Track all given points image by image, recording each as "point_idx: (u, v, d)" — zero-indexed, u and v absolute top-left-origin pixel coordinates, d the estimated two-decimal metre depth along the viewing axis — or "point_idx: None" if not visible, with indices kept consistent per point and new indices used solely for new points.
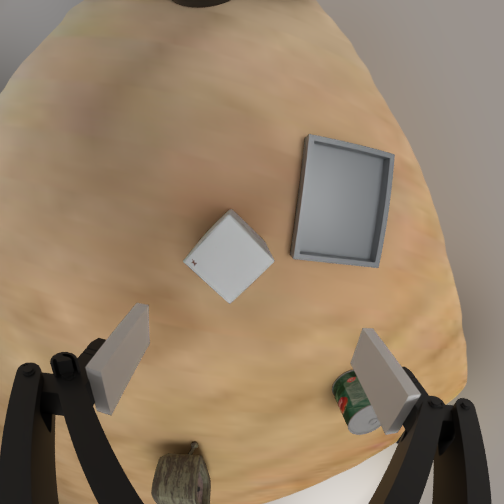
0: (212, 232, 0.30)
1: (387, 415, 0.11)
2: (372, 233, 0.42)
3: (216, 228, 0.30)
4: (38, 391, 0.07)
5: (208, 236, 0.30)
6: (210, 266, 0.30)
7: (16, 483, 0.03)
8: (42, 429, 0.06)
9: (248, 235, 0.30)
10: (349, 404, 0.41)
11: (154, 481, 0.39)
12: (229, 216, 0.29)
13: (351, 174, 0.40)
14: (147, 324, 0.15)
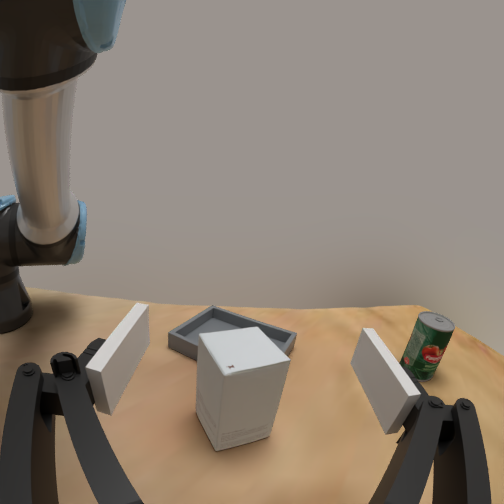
0: (208, 346, 0.27)
1: (387, 415, 0.11)
2: None
3: (206, 343, 0.27)
4: (38, 391, 0.07)
5: (210, 350, 0.26)
6: (241, 357, 0.25)
7: (16, 483, 0.03)
8: (42, 429, 0.06)
9: None
10: (426, 342, 0.40)
11: None
12: (201, 333, 0.29)
13: None
14: (147, 324, 0.15)
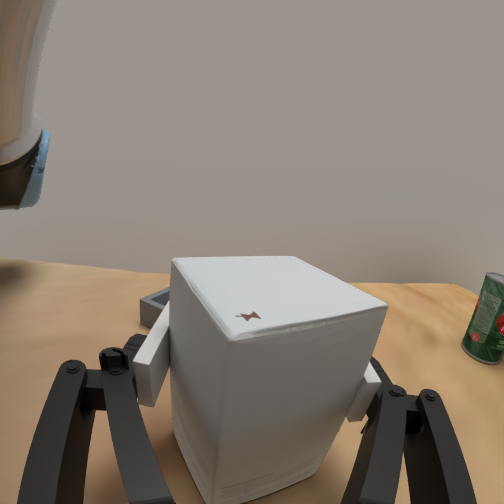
0: (188, 276, 0.11)
1: None
2: None
3: (184, 270, 0.12)
4: (80, 389, 0.08)
5: (192, 282, 0.10)
6: (275, 297, 0.10)
7: (42, 477, 0.04)
8: (79, 426, 0.07)
9: None
10: (502, 308, 0.24)
11: None
12: None
13: None
14: None
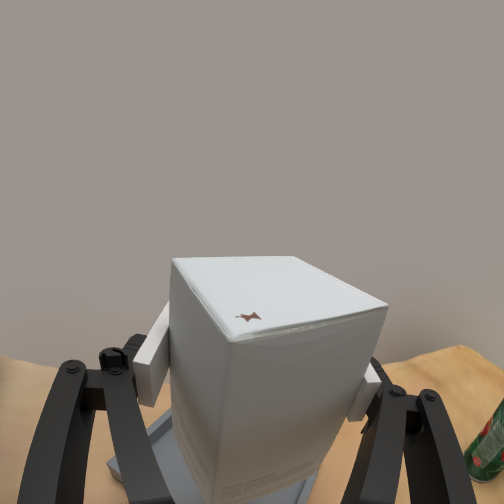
0: (188, 277, 0.11)
1: None
2: None
3: (184, 271, 0.11)
4: (80, 389, 0.08)
5: (192, 282, 0.10)
6: (276, 297, 0.10)
7: (42, 477, 0.04)
8: (79, 426, 0.07)
9: (231, 257, 0.14)
10: None
11: None
12: (176, 258, 0.13)
13: None
14: None
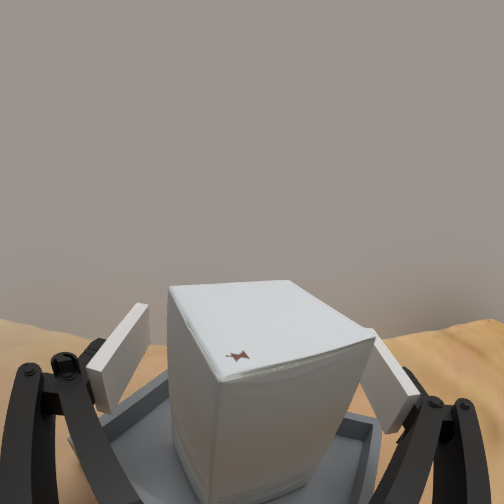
0: (183, 309, 0.11)
1: (387, 415, 0.11)
2: None
3: (180, 302, 0.12)
4: (38, 391, 0.07)
5: (186, 315, 0.11)
6: (265, 333, 0.10)
7: (16, 483, 0.03)
8: (42, 429, 0.06)
9: (226, 283, 0.15)
10: None
11: None
12: (173, 286, 0.13)
13: None
14: (147, 324, 0.15)
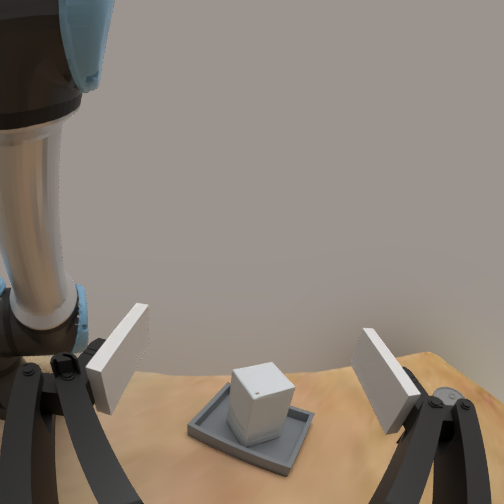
0: (240, 379, 0.39)
1: (387, 415, 0.11)
2: None
3: (238, 376, 0.39)
4: (38, 391, 0.07)
5: (242, 381, 0.38)
6: (263, 386, 0.37)
7: (16, 483, 0.03)
8: (42, 429, 0.06)
9: (250, 366, 0.42)
10: None
11: None
12: (234, 369, 0.41)
13: None
14: (147, 324, 0.15)
